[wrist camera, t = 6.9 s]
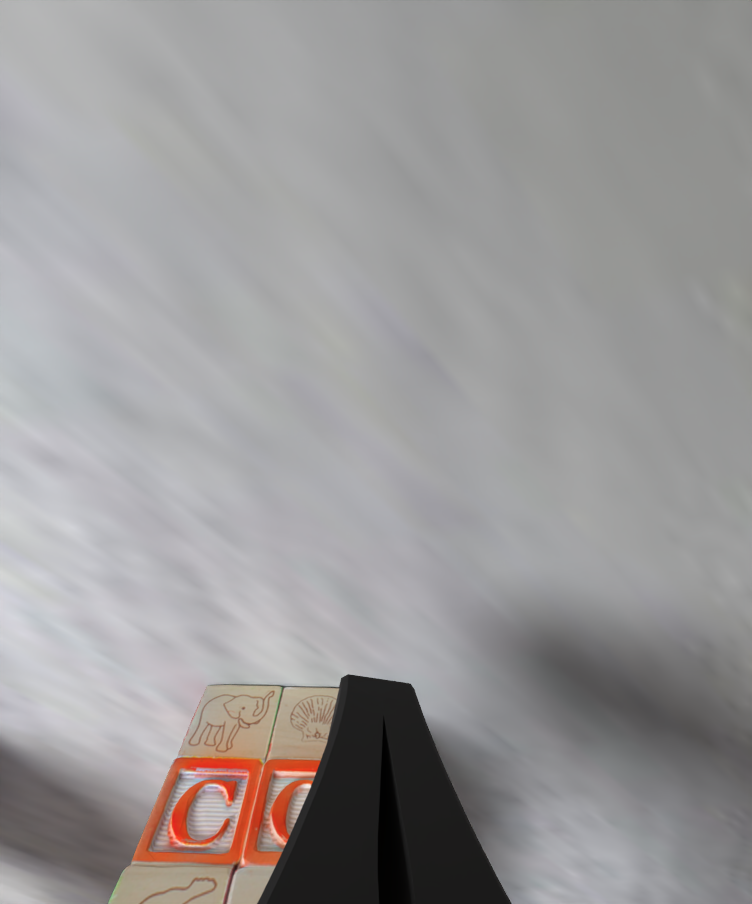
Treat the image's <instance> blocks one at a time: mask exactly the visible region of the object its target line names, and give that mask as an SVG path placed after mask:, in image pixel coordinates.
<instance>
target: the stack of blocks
mask: <svg viewBox="0 0 752 904" xmlns="http://www.w3.org/2000/svg"><path fill="white" fill-rule="evenodd" d="M338 691H339V688H312V687H286V688H283V687H280V686H246V685H211V686H207V687H206V689H205V692H204V694H203V696H202V698H201V700H200V703H199V705H198V707H197V710H196V712H195V714H194V716H193V718H192V721H191V723H190V726H189V729H188V731H187V734H186V736H185V738H184V741H183V744H182V747H181V749H180V751H179V754H178V758H177V759H175V760H174V761H173V763H172V765H171V767H170V770H169V772H168V775H167V777H166V779H165V782H164V784H163V786H162V789H161V791H160V794H159V796H158V798H157V801H156V803H155V805H154V808H153V810H152V812H151V815H150V817H149V819H148V822H147V824H146V826H145V829H144V831H143V834H142V836H141V838H140V841H139V843H138V846H137V848H136V851H135V853H134V856H133V859H132V862H131V865H129V866H127V867H126V868H125V869H124V870H123V872H122V874H121V876H120V878H119V880H118V882H117V884H116V886H115V889H114V891H113V893H112V895H111V897H110V900H109V902H108V904H257V903H258V901H259V899H260V897H261V895H262V893H263V891H264V889H265V887H266V885H267V883H268V881H269V879H270V877H271V875H272V873H273V871H274V869H275V866H276V864H277V862H278V860H279V858H280V856H281V854H282V852H283V849H284V847H285V845H286V843H287V841H288V839H289V836H290V834H291V832H292V829H293V827H294V825H295V823H296V820H297V818H298V816H299V813H300V811H301V809H302V806H303V804H304V802H305V799H306V797H307V795H308V793H309V790H310V788H311V785H312V783H313V780H314V777H315V775H316V772H317V769H318V766H319V764H320V761H321V758H322V755H323V753H324V750H325V747H326V745H327V740H328V736H329V731H330V727H331V722H332V718H333V713H334V709H335V704H336V700H337V695H338Z"/></svg>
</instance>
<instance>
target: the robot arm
mask: <svg viewBox="0 0 752 904" xmlns="http://www.w3.org/2000/svg"><path fill="white" fill-rule="evenodd" d="M257 904H511V902H510V900H509V898H508V896H507V895H506V893H505V891H504V889H503V887H502V885H501V883H500V882H499V880H498V878H497V876H496V874H495V872H494V870H493V868H492V866H491V864H490V862H489V860H488V858H487V856H486V854H485V853H484V851H483V849H482V847H481V845H480V843H479V841H478V839H477V837H476V835H475V833H474V831H473V829H472V827H471V824H470V822H469V820H468V818H467V816H466V814H465V812H464V810H463V808H462V805H461V803H460V801H459V799H458V797H457V794H456V792H455V790H454V788H453V786H452V783H451V781H450V779H449V777H448V775H447V772H446V770H445V768H444V765H443V763H442V761H441V758H440V756H439V754H438V751H437V749H436V746H435V744H434V741H433V739H432V736H431V734H430V731H429V729H428V726H427V724H426V721H425V718H424V716H423V713H422V710H421V707H420V705H419V702H418V699H417V696H416V693H415V690H414V688H413V687H412V685H411V684H409V683H402V682H396V681H389V680H382V679H376V678H369V677H362V676H356V675H349V674H348V675H346V676H344V677H343V678H341V682H340V687H339V691H338V695H337V700H336V704H335V709H334V713H333V718H332V722H331V727H330V731H329V736H328V740H327V745H326V747H325V750H324V753H323V755H322V758H321V761H320V764H319V766H318V769H317V772H316V775H315V777H314V780H313V783H312V785H311V788H310V790H309V793H308V795H307V797H306V799H305V802H304V804H303V806H302V809H301V811H300V813H299V816H298V818H297V820H296V823H295V825H294V827H293V829H292V832H291V834H290V836H289V839H288V841H287V843H286V845H285V847H284V849H283V852H282V854H281V856H280V858H279V860H278V862H277V864H276V866H275V869H274V871H273V873H272V875H271V877H270V879H269V881H268V883H267V885H266V887H265V889H264V891H263V893H262V895H261V897H260V899H259V901H258V903H257Z"/></svg>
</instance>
